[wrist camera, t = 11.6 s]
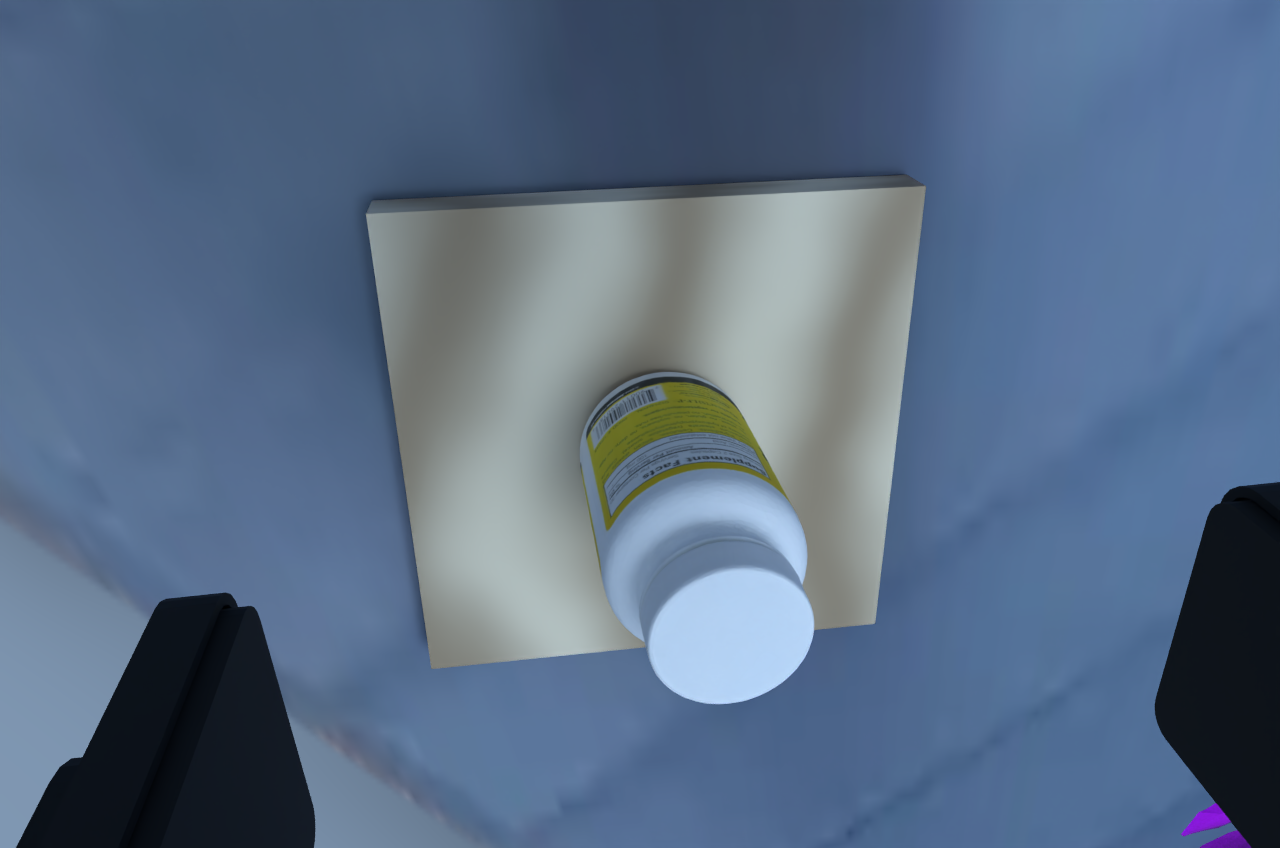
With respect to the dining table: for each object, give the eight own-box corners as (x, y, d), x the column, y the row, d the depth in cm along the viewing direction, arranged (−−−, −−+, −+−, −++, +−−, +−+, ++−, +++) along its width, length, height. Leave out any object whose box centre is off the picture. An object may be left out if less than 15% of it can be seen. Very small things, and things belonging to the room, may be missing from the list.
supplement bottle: (719, 525, 33) (801, 739, 24) (561, 502, 32) (589, 719, 23) (767, 381, 31) (876, 559, 22) (600, 351, 30) (646, 527, 21)
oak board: (906, 174, 30) (925, 186, 29) (861, 598, 37) (875, 623, 36) (371, 200, 28) (365, 214, 27) (433, 641, 35) (431, 668, 34)
